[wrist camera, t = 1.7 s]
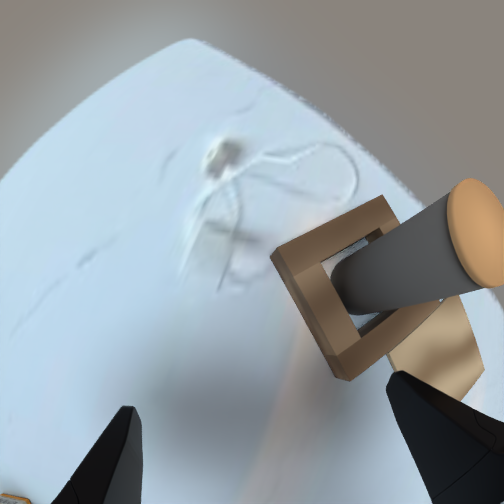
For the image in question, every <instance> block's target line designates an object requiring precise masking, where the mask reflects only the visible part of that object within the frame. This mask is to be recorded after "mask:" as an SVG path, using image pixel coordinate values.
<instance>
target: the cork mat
mask: <svg viewBox="0 0 504 504" xmlns="http://www.w3.org/2000/svg"><path fill="white" fill-rule="evenodd" d="M386 355H387V357H388V359H389V361H390V363H391V365H392V367H393V370H394V372H396V371H400V370H404V371H406V372H407V373H409V374H411V375H413V376H415V377H416V378H418V379H420V380H422V381H424V382H425V383H427V384H429V385H431V386H433V387H434V388H436V389H438V390H440V391H442V392H444V393H445V394H447V395H449V396H451V397H453V398H455V399H456V400H458V401H461V400H462V399H463V398H464V396H465V395H466V394H467V393H468V391H469V390H470V389H471V388H472V386H473V385H474V384H475V382H476V381H477V380H478V378H479V377H480V376H481V374H482V373H483V372H484V370H485V369H484V365H483V362H482V359H481V355H480V352H479V349H478V346H477V343H476V339H475V337H474V334H473V331H472V328H471V325H470V322H469V320H468V317H467V314H466V312H465V309H464V307H463V304H462V302H461V299H460V297H459V295H456V296H452V297H448V298H445V299H444V300H443V301H442V302H441V304H440V305H439V306H438V307H437V308H436V309H435V310H434V311H433V312H432V313H431V314H430V315H429V316H428V317H426V318H425V319H424V320H423V321H422V322H421V323H420V324H419V325H418V326H417V327H416V328H415V329H414V330H413V331H412V332H410V333H409V334H408V335H407V336H406V337H405V338H404V339H403V340H401V341H400V342H399V343H398V344H397V345H396V346H395V347H393V348H392V349H391V350H390V351H389V352H387V353H386Z"/></svg>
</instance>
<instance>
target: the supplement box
mask: <svg viewBox="0 0 504 504" xmlns="http://www.w3.org/2000/svg"><path fill="white" fill-rule="evenodd" d="M0 504H31V503H30V501H29V499H27V498H21V497H16V496H12V495H7V494H1V495H0Z"/></svg>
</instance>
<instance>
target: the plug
mask: <svg viewBox="0 0 504 504" xmlns="http://www.w3.org/2000/svg"><path fill="white" fill-rule="evenodd" d="M330 281H331V283H332V285H333V286H334V288H335V290H336V292H337V294H338V296H339V297H340V299H341V301H342V303H343V305H344V307H345V309H346V311H347V312H348V314H351V315H364V314H370V313H376V312H381V311H387V310H392V309H397V308H402V307H407V306H412V305H417V304H421V303H426V302H430V301H435V300H439V299H443V298H448V297H452V296H456V295H460V294H464V293H468V292H471V291H475V290H479V289H483V288H494V287H498V286H501V285H503V284H504V209H503V207H502V205H501V203H500V202H499V200H498V199H497V197H496V196H495V195H494V193H493V192H492V191H491V190H490V189H489V188H488V187H487V186H486V185H485V184H483V183H482V182H480V181H478V180H476V179H472V178H468V179H465V180H463V181H462V182H460V183H459V184H457V185H456V186H455V187H454V188H453V189H452V190H451V192H449V193H448V194H446V195H445V196H443V197H442V198H440V199H439V200H438V201H436V202H434V203H433V204H431V205H430V206H428V207H427V208H425V209H424V210H422V211H421V212H419V213H418V214H416V215H415V216H413V217H411V218H410V219H408V220H407V221H405V222H404V223H402V224H400V225H399V226H397V227H396V228H394V229H392V230H391V231H389V232H388V233H386V234H384V235H383V236H381V237H380V238H378V239H376V240H375V241H373V242H371V243H370V244H368V245H366V246H365V247H363V248H361V249H360V250H358V251H356V252H355V253H353V254H351V255H350V256H348V257H346V258H345V259H343V260H341V261H340V262H339V263H338V264H337V265H336V266H335V268H334V270H333V272H332V275H331V280H330Z"/></svg>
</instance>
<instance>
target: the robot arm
mask: <svg viewBox="0 0 504 504" xmlns="http://www.w3.org/2000/svg"><path fill="white" fill-rule="evenodd" d="M386 393H387V396H388V398H389V401H390V404H391V407H392V410H393V413H394V416H395V419H396V421H397V424H398V426H399V428H400V430H401V433H402V435H403V437H404V439H405V441H406V443H407V445H408V448H409V450H410V452H411V454H412V456H413V459H414V461H415V463H416V465H417V468H418V470H419V472H420V475H421V477H422V479H423V482H424V484H425V486H426V489H427V491H428V494H429V496H430V498H431V501H432V504H504V422H501V421H498V420H496V419H494V418H491V417H489V416H487V415H485V414H483V413H481V412H479V411H477V410H475V409H473V408H471V407H469V406H468V405H466V404H464V403H462V402H460V401H458V400H456V399H455V398H453V397H451V396H449V395H447V394H445V393H444V392H442V391H440V390H438V389H436V388H434V387H433V386H431V385H429V384H427V383H425V382H424V381H422V380H420V379H418V378H416V377H415V376H413V375H411V374H409V373H407V372H406V371H404V370H400V371H396V372H394V373H393V374H392V375H391V377H390V379H389V382H388V384H387V386H386ZM142 474H143V452H142V424H141V420H140V417H139V415H138V413H137V411H136V408H135V407H134V406H122V407H121V408H120V409H119V411H118V412H117V413H116V415H115V416H114V417H113V419H112V420H111V422H110V423H109V424H108V426H107V427H106V429H105V430H104V431H103V433H102V434H101V436H100V437H99V438H98V440H97V441H96V443H95V444H94V445H93V447H92V448H91V450H90V451H89V452H88V454H87V455H86V457H85V458H84V459H83V461H82V462H81V464H80V465H79V466H78V468H77V469H76V471H75V472H74V474H73V475H72V476H71V478H70V480H69V481H68V482H67V483H66V485H65V486H64V488H63V489H62V490H61V492H60V493H59V494H58V496H57V497H56V498H55V499H54V500H53V502H52V503H51V504H141V491H142Z"/></svg>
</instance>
